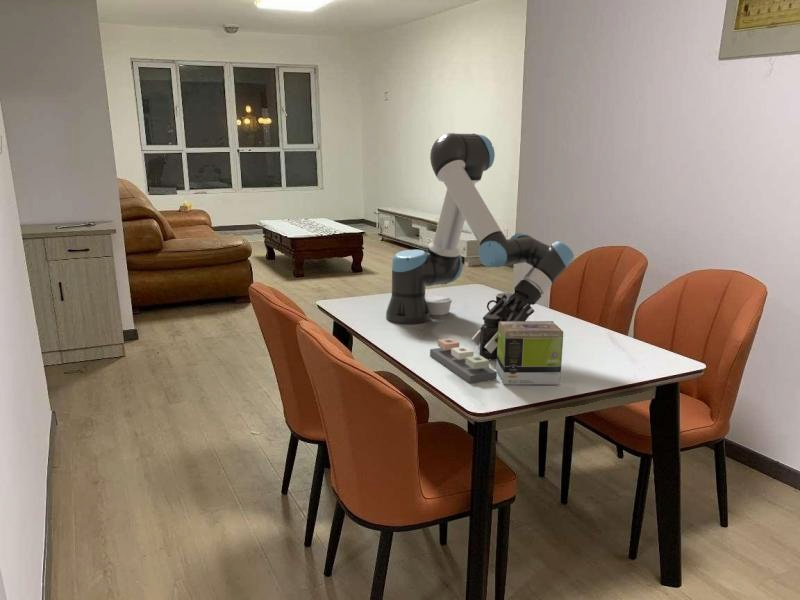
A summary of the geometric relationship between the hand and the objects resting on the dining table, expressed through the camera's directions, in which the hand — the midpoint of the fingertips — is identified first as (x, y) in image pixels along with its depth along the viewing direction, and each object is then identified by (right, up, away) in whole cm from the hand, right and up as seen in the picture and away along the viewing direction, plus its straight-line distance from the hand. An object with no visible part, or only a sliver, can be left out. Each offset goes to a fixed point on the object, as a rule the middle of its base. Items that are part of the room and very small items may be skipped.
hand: (480, 346), depth 182 cm
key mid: (-6, -2, -8) cm, 10 cm away
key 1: (-9, 0, -1) cm, 9 cm away
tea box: (+10, -8, -14) cm, 19 cm away
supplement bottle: (+3, -3, +2) cm, 5 cm away
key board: (-6, -5, -7) cm, 11 cm away
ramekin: (-10, +8, +48) cm, 50 cm away
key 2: (-3, -4, -15) cm, 16 cm away
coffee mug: (+12, +5, +36) cm, 38 cm away
